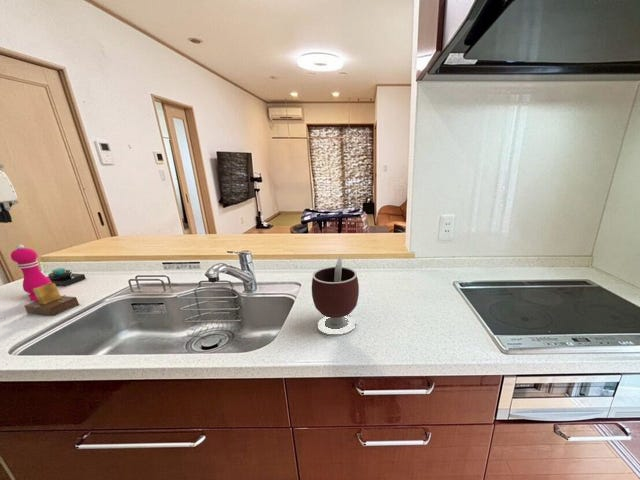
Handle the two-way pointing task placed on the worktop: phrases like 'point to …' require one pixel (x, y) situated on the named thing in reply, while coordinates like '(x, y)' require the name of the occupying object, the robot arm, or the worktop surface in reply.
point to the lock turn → (47, 293)
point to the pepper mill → (29, 269)
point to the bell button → (59, 271)
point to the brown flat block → (52, 306)
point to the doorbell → (66, 278)
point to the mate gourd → (335, 294)
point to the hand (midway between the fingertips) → (5, 222)
